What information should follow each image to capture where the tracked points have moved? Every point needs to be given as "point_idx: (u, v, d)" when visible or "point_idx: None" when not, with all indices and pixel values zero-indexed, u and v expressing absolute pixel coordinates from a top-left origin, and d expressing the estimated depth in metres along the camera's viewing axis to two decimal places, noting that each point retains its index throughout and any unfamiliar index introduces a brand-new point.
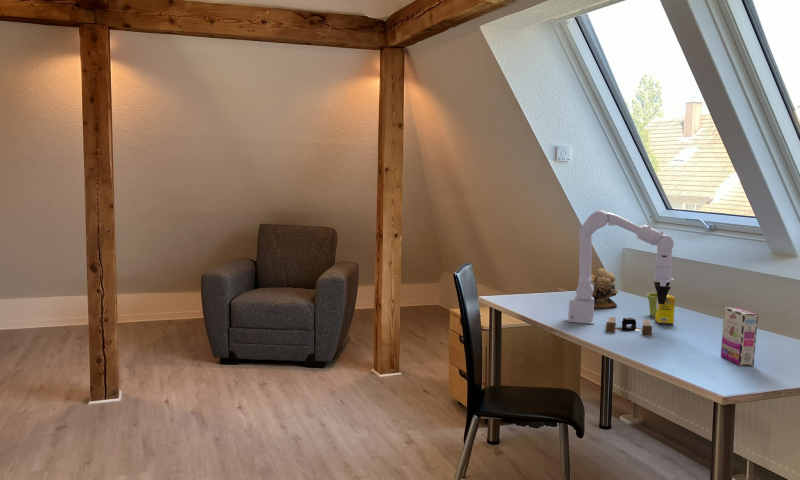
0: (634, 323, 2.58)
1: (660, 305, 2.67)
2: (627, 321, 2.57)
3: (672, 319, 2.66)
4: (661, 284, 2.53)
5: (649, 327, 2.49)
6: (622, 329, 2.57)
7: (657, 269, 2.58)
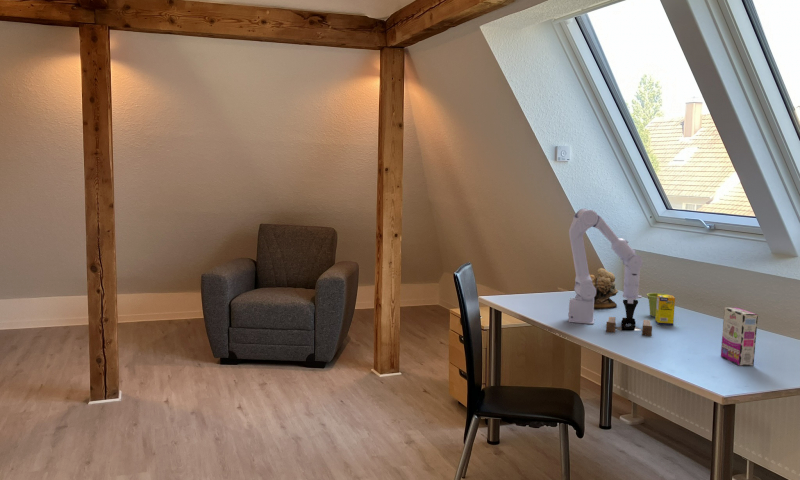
0: (633, 323, 2.58)
1: (660, 305, 2.67)
2: (626, 321, 2.58)
3: (672, 319, 2.66)
4: (628, 301, 2.63)
5: (649, 327, 2.49)
6: (621, 329, 2.58)
7: (625, 287, 2.68)
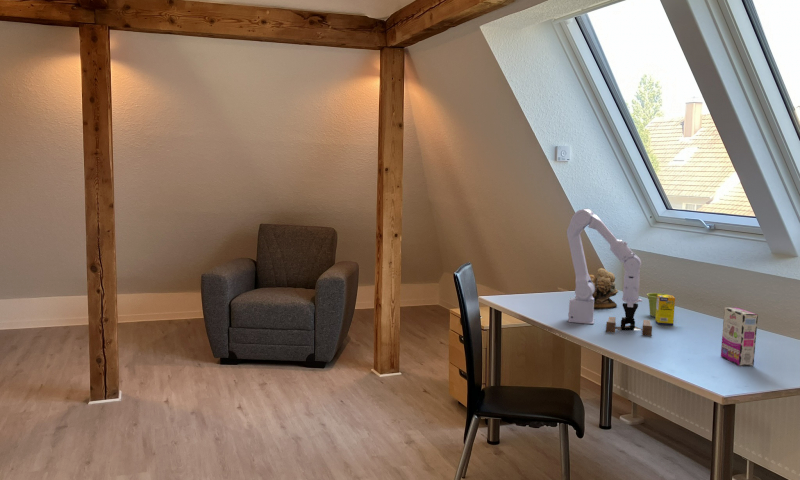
0: (633, 322, 2.59)
1: (660, 305, 2.67)
2: (626, 320, 2.58)
3: (672, 319, 2.66)
4: (628, 305, 2.55)
5: (649, 327, 2.49)
6: (621, 328, 2.58)
7: (625, 290, 2.60)
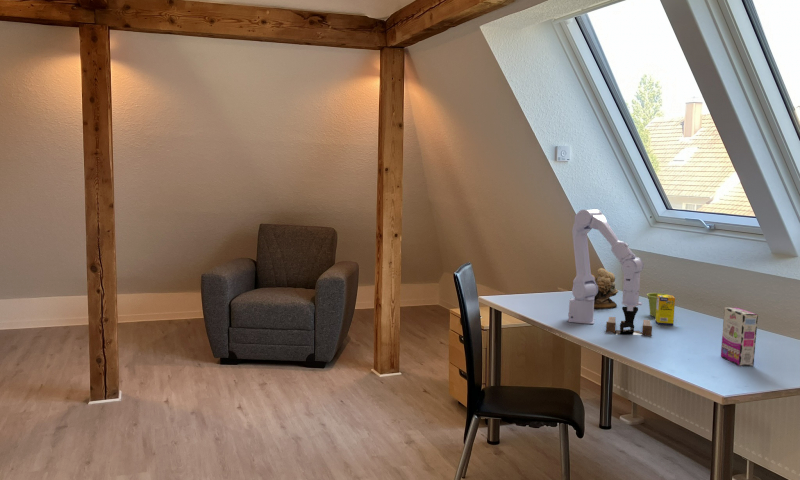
0: (632, 326, 2.52)
1: (660, 305, 2.67)
2: (624, 324, 2.52)
3: (672, 319, 2.66)
4: (628, 309, 2.49)
5: (649, 327, 2.49)
6: (619, 332, 2.52)
7: (625, 293, 2.54)
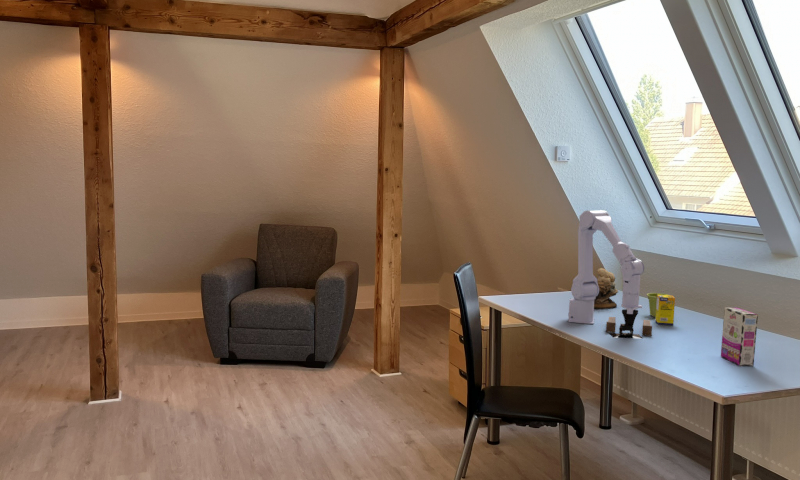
0: (631, 330, 2.47)
1: (660, 305, 2.67)
2: (623, 327, 2.47)
3: (672, 319, 2.66)
4: (628, 312, 2.43)
5: (649, 327, 2.49)
6: (617, 335, 2.48)
7: (624, 296, 2.48)
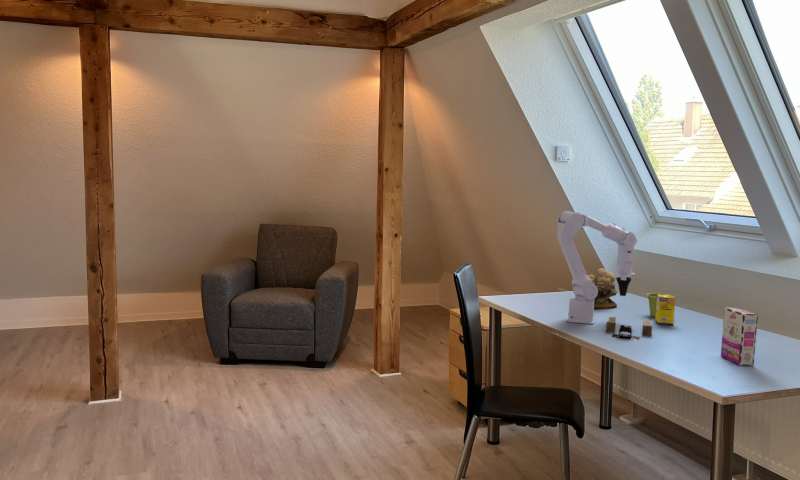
0: (629, 331, 2.45)
1: (660, 305, 2.67)
2: (620, 328, 2.46)
3: (672, 319, 2.66)
4: (622, 278, 2.65)
5: (649, 327, 2.49)
6: (615, 336, 2.47)
7: (619, 264, 2.71)
